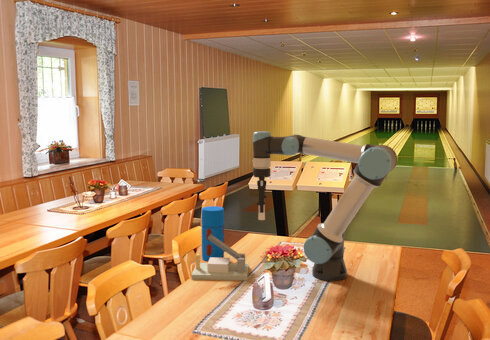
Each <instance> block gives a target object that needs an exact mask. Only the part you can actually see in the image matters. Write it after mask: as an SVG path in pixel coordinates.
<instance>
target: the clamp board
mask: <svg viewBox="0 0 490 340" xmlns="http://www.w3.org/2000/svg"><path fill="white" fill-rule="evenodd" d="M239 254H240V255H242V256H244V258H238V259H236V260H237V261H236V262H237V263H236V262H235V263H233V262H231V258H230V257H224V258H218V257H210V259H209V261H208V262H201V254H200V253H196V254H195V266H194V269H193V271H192V272H191V275H190V278H191V280H208V281H209V280H212V281H213V280H215V281H216V280H218V281H248V278H249V277H248V276H249V269H250V264H249V263H246V253H239Z"/></svg>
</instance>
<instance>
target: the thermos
mask: <svg viewBox="0 0 490 340" xmlns="http://www.w3.org/2000/svg"><path fill="white" fill-rule="evenodd" d="M210 234H211V235H213V236H214V237H216V238H217V239H219V240H220V241H221V242H223V243H224V244H225V209H224V207H222V206H218V205H217V206H215V205H211V206H210V205H208V206H204V207H202V208H201V259H202V261H204V262H205V263H208V261H209V259H210V257H218V258H225V251H224V250H222V249H221V248H220V247H218V246H217V245H215V244H214V243H212V242H211V241H210V240H208V237H209V235H210Z"/></svg>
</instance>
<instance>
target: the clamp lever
mask: <svg viewBox="0 0 490 340" xmlns="http://www.w3.org/2000/svg"><path fill="white" fill-rule="evenodd" d="M208 240H210V241H211V242H212V243H214V244H215V245H217V246H218V247H220V248H221V249H222V250H224V253H227V254H228V255H230V256H231V257H232V258H234V259H235V260H237V259H238V258H244V256H242V255H240V254H241V253H238V252H237V251H235V250H234V249H233V248H231V247H230V246H228V245H227V244H226V243H225V242H224V243H223V242H221V241H220V240H219V239H217V238H216V237H214V236H213V235H211V234H210V235H209V237H208Z"/></svg>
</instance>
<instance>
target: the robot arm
mask: <svg viewBox="0 0 490 340" xmlns="http://www.w3.org/2000/svg"><path fill="white" fill-rule="evenodd" d="M252 135H253V136H252V158H253V159H252V160H251V163H252V166H253V168H252V176H253V177H254V178H258V180H257V181H256V185H257V191H258V202H257V203H256V205H257V206H258V209H257V210H258V211H257V212H258V213H257V215H258V217H257V218H258V221H265V220H266V199H267V196H266V194H265V193H266V190H267V180H265V178H270V177H271V167H272V165H271V164H272V163H271V161H272V160H271V155H278V156H279V155H281V156H283V155H284V156H295V155H297V154H302V155H308V156H315V157H321V158H325V159H331V160H336V161H341V162H342V161H343V162H348V163H353V164H354V163H355V164H356V166H355V168H354V169H353V175H354V176H353V178H352V179H351V181H350V182H349V184H348V186H347V187H346V188H345V190H344V192H343V193H342V194H341V196H340V198H339V199H338V201H337V202H336V204H335V205H334V207H333V208H332V210H331V211H330V213H329V214H328V216H327V217H326V219H325V220H324V222H320V223H318V224H317V226H316V228H315V229H314V231H313V232H312V233H311V235H310V236H309V237H308V238H307V239H306V240H305V241H304V243H303V252H304V256H305V257H306V258H307V259H308V260H309V261H310V262H312V263H313V267H312V270H311V274H312V276H313V277H314V278H317V279H319V280H322V281H330V282H335V281H342V280H345V279H346V278H347V277H348V270H347V267H346V263H345V259H344V253H345V252H344V251H345V233H346V232H345V231H346V229H347V228H348V227H349V225H350V224H351V222H352V221H353V219H354V218H355V216H356V215H357V213H358V212H359V210H360V209H361V208H362V206H363V204H364V203H365V202H366V200H367V199H368V197H369V195H370V194H371V192H372V191H373V190H374V189H375V188H380V186H381V185H382V183H383V182H384V181H385V179H386V178H387V177H388V175H389V174H390V173H391V172H392V171H394V169H395V168H396V166H397V163H398V155H397V153H396V151H395V150H394V148H392V147H391V146H388V145H386V144H370V143H365V144H364V145H359V144H354V143H347V142H341V141H336V140H335V141H334V140H330V139H329V140H328V139H324V138H322V139H321V138H316V137H309V136H304V135H302V134H293V135H285V136H272V135H271V132H270V131H264V130H263V131H254V132H253V134H252Z"/></svg>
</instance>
